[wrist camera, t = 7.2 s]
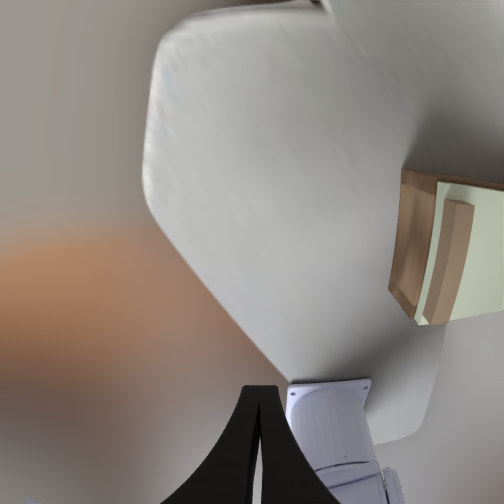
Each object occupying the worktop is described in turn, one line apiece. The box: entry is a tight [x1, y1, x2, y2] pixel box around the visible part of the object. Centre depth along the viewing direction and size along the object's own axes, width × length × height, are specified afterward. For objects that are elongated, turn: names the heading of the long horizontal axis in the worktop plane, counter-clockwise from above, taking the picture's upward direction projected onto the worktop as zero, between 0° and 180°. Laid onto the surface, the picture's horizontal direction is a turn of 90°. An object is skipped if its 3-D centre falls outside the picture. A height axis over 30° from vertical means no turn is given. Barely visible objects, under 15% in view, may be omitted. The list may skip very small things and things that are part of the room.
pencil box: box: [388, 169, 504, 319], centre depth 15 cm, size 9×17×5 cm, turn 92°
